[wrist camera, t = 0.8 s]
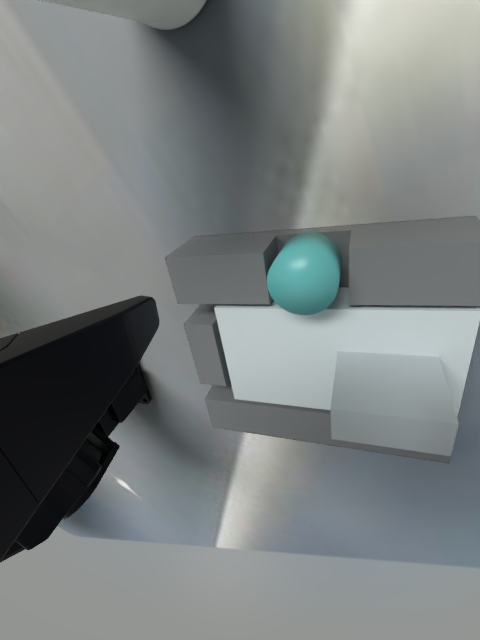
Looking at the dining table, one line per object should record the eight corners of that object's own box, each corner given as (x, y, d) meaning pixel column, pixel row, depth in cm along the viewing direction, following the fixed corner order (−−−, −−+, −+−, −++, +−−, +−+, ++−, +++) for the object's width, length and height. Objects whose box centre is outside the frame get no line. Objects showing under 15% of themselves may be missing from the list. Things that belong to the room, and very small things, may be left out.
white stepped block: (245, 374, 25) (210, 451, 20) (229, 288, 22) (180, 351, 16) (446, 392, 21) (477, 500, 15) (467, 286, 17) (519, 374, 11)
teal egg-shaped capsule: (281, 290, 19) (271, 314, 17) (276, 234, 18) (263, 251, 15) (342, 290, 18) (338, 315, 16) (342, 229, 16) (338, 248, 14)
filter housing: (229, 392, 29) (212, 427, 26) (194, 236, 22) (164, 257, 19) (437, 414, 23) (448, 463, 20) (475, 215, 16) (502, 241, 13)
